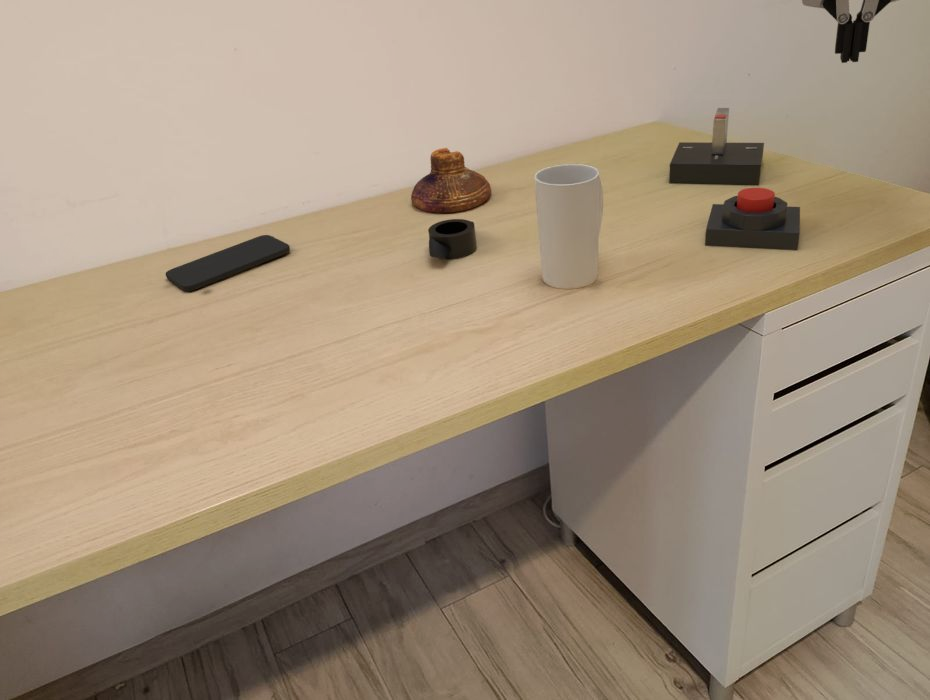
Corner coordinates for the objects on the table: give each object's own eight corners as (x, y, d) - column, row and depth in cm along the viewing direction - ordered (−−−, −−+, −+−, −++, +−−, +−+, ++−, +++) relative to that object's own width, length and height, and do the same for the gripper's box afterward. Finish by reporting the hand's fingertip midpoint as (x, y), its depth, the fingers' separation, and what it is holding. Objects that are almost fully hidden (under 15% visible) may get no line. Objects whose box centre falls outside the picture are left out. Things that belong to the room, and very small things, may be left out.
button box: (797, 223, 90) (802, 192, 88) (797, 250, 84) (801, 217, 82) (711, 220, 94) (713, 189, 92) (704, 246, 88) (707, 214, 86)
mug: (577, 296, 80) (574, 188, 74) (527, 282, 84) (521, 179, 78) (627, 261, 86) (628, 159, 80) (578, 250, 90) (576, 152, 84)
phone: (162, 272, 96) (266, 233, 103) (164, 278, 96) (267, 238, 104) (184, 288, 91) (292, 246, 98) (187, 294, 91) (294, 251, 99)
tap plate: (762, 158, 112) (764, 137, 110) (758, 186, 102) (761, 163, 101) (680, 157, 116) (681, 137, 114) (669, 183, 107) (669, 162, 105)
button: (773, 202, 88) (775, 187, 87) (772, 214, 85) (774, 200, 84) (737, 201, 89) (739, 186, 88) (735, 213, 86) (736, 198, 85)
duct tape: (503, 245, 94) (501, 223, 92) (438, 271, 89) (435, 248, 88) (467, 229, 100) (465, 209, 98) (404, 253, 95) (401, 232, 93)
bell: (405, 194, 114) (398, 147, 111) (481, 181, 116) (477, 134, 112) (419, 220, 104) (412, 169, 101) (501, 205, 106) (497, 154, 102)
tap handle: (715, 142, 111) (717, 106, 108) (726, 142, 110) (729, 106, 108) (711, 154, 106) (713, 117, 104) (723, 154, 106) (725, 117, 103)
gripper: (955, -149, 74) (921, 48, 83) (790, -125, 79) (776, 57, 88) (970, -150, 68) (932, 62, 77) (790, -124, 73) (775, 71, 82)
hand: (849, 59), depth 83 cm, fingers closed
